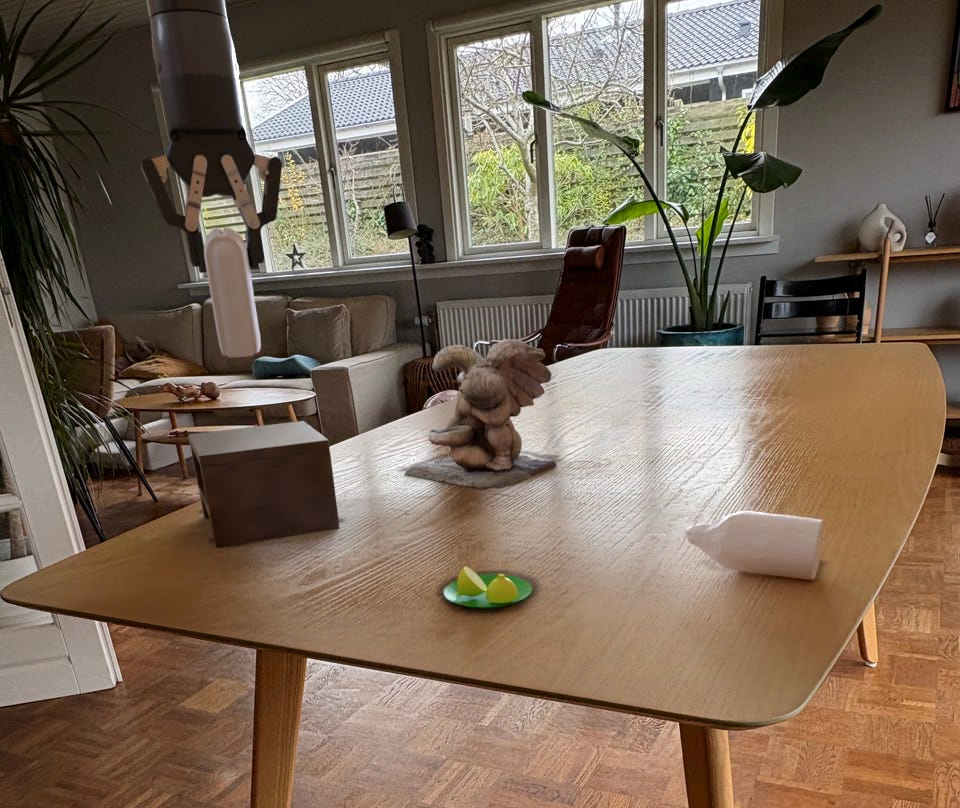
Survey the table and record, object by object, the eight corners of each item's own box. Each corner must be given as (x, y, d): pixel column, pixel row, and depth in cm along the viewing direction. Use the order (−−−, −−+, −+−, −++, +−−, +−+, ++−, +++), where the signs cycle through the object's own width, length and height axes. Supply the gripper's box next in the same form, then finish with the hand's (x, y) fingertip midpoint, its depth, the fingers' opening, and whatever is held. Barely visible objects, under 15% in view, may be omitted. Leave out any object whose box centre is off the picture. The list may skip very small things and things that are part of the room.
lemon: (442, 615, 72) (440, 585, 71) (445, 582, 79) (443, 554, 78) (534, 611, 72) (534, 580, 71) (529, 578, 79) (528, 550, 78)
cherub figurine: (394, 476, 118) (381, 343, 111) (471, 451, 131) (465, 330, 124) (494, 491, 108) (489, 346, 101) (568, 462, 121) (567, 332, 114)
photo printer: (224, 350, 95) (204, 230, 90) (263, 348, 96) (245, 228, 91) (218, 360, 86) (196, 226, 81) (261, 357, 87) (241, 224, 82)
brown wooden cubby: (216, 547, 93) (198, 456, 88) (203, 516, 104) (187, 434, 100) (339, 527, 97) (328, 439, 93) (314, 500, 109) (303, 420, 105)
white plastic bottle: (691, 553, 83) (695, 498, 81) (819, 567, 78) (827, 509, 76) (675, 573, 79) (678, 515, 76) (810, 589, 74) (818, 528, 71)
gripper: (267, 86, 86) (290, 267, 93) (118, 83, 81) (155, 275, 88) (279, 71, 79) (304, 267, 87) (119, 67, 75) (159, 275, 82)
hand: (229, 270), depth 87 cm, fingers closed on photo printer, 4 cm apart
